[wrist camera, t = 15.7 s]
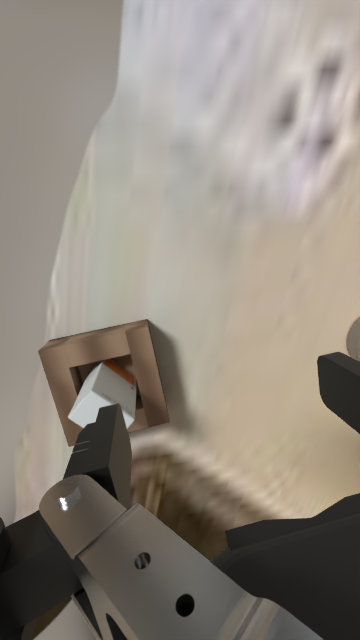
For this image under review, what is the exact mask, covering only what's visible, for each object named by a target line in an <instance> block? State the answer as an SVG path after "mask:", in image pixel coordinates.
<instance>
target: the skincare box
mask: <svg viewBox="0 0 360 640" xmlns="http://www.w3.org/2000/svg"><path fill="white" fill-rule="evenodd" d="M136 386H137V379H136V377H135V376H133V375H132V374H130V373H129V372H128V371H126V370H125V369H123V368H122V367H121V366H119V365H118V364H117V363H115V362H114V361H113V360H111V359H105V360H101V361H99V362H98V364H97V365H96V366H95V367H94V368H93V369H92V371H91V372H90V373H89V374H88V375H87V377H86V380H85V382H84V384H83V386H82V388H81V390H80V393H79V395H78V397H77V399H76V401H75V403H74V405H73V407H72V409H71V412H70V413H69V415H68V418H69V419H70V420H71V421H73V422H74V423H76V424H78V425H79V426H81V427H82V428H84V427H85V426H86V425H87V424H90V423H94V422H96V418H97V414H98V411H99V408H100V407H105V406H109V405H113V404H117V403H119V404H120V406H121V409H122V412H123V416H124V420H125V424H126V427H127V429H128V428H129V426H130V425H131V424H132V423H133V422H134V420H135V407H136Z"/></svg>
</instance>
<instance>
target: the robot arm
mask: <svg viewBox="0 0 360 640" xmlns="http://www.w3.org/2000/svg"><path fill="white" fill-rule="evenodd" d="M347 350H348V352H349V355H350V356H351V357H352V358H351V357H349V356H347V355H345V354H343V353H341V352H335V353H330V354H326V355H322V356H319V357H318V360H317V365H318V377H319V388H320V395H321V398H322V400H323V402H324V404H325V405H326V407H327V408H329V409H330V410H331V411H332V412H334V413H335V414H336V415H337V416H338V417H340V418H341V419H342V420H343V421H345V422H346V423H347V424H348V425H349V426H351V427H352V428H353V429H354V430H356V431H357V432H358V433H359V434H360V318H358V319H357V320H356V321H355V322H354V324H353V325H352V327H351V328H350V331H349V333H348V337H347ZM72 452H73V453H72V454H71V457H70V460H69V463H68V466H67V469H66V472H65V474H64V477H63V480H61V481H59V482H58V483H56V484H55V485H54V486H52V487H51V488H50V489H49V490H48V491H47V492H46V493H45V495H44V496H43V498H42V499H41V502H40V504H39V510H38V511H36V512H35V513H33V514H31V515H29V516H27V517H25V518H23V519H21V520H19V521H17V522H15V523H13V524H11V525H9V526H7V527H5V525H4V522H3V520H2V518H0V640H32V636H33V632H34V627H35V623H36V619H37V617H38V616H40V615H42V614H43V613H45V612H46V611H48V610H49V609H51V608H53V607H54V606H56V605H57V604H59V603H60V602H62V601H64V600H65V599H67V598H68V597H70V596H71V597H72V599H73V601H74V602H75V604H76V606H77V607H78V609H79V611H80V612H81V614H82V616H83V617H84V619H85V621H86V622H87V624H88V626H89V627H90V629H91V631H92V632H93V634H94V636H95V637H96V639H97V640H360V493H359V494H355V495H351V496H348V497H345V498H343V499H342V500H340V501H338V502H337V503H335V504H334V505H332V506H330V507H329V508H327V509H326V510H324V511H323V512H321V513H319V514H318V515H316V516H314V517H312V518H303V519H274V520H262V521H259V522H255V523H252V524H248V525H245V526H241V527H238V528H234V529H230V530H227V531H225V534H226V539H227V544H228V547H227V548H225V549H224V550H222V551H221V552H219V553H218V554H217V555H216V556H215V557H213V558H212V559H211V560H210V561H208V560H207V559H206V558H205V557H204V556H202V555H201V554H200V553H199V552H197V551H196V550H195V549H194V548H193V547H191V546H190V545H189V544H188V543H186V542H185V541H184V540H183V539H182V538H180V537H179V536H178V535H177V534H175V533H174V532H173V531H172V530H171V529H169V528H168V527H167V526H166V525H164V524H163V523H162V522H161V521H160V520H158V519H157V518H156V517H155V516H154V515H152V514H151V513H150V512H149V511H147V510H146V509H145V508H144V507H142V506H141V505H140V504H137V503H134V504H133V505H132V506H131V507H130V484H131V462H132V451H131V444H130V439H129V435H128V431H127V427H126V424H125V420H124V416H123V412H122V409H121V406H120V404H119V403H117V404H113V405H109V406H105V407H100V408H99V411H98V414H97V418H96V422H94V423H90V424H87V425H86V426H85V427H84V428H83V429H82V431H81V432H80V433H79V434H78V437H77V440H76V443H75V446H74V449H73V451H72Z"/></svg>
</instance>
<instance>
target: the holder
mask: <svg viewBox="0 0 360 640" xmlns="http://www.w3.org/2000/svg"><path fill="white" fill-rule="evenodd" d="M38 352H39V355H40V358H41V361H42V365H43V368H44V371H45V374H46V377H47V380H48V383H49V386H50V390H51V393H52V396H53V399H54V402H55V405H56V408H57V411H58V414H59V418H60V421H61V424H62V427H63V430H64V433H65V436H66V439H67V443H68V446H69V447H70V446H74V445H75V443H76V440H77V437H78V434H79V433H80V432H81V431H82V429H83V428H82V427H81V426H79V425H78V424H76V423H74V422H73V421H71V420H70V419H69V418H68V415H69V413H70V412H71V409H72V407H73V405H74V403H75V401H76V399H77V397H78V395H79V393H80V390H81V388H82V386H83V384H84V382H85V380H86V377H87V375H88V374H89V373H90V372H91V371H92V369H93V368H94V367H95V366H96V365H97V364H98V362H99V361H101V360H105V359H111V360H113V361H114V362H115V363H117V364H118V365H119V366H121V367H122V368H123V369H125V370H126V371H128V372H129V373H130V374H132V375H133V376H135V377H136V379H137V386H136V407H135V420H134V422H133V423H132V424H131V425H130V426H129V428H128V429H127V431H128V432H131V431H135V430H139V429H143V428H147V427H152V426H156V425H160V424H164V423H168V422H169V417H168V411H167V405H166V401H165V396H164V392H163V387H162V383H161V378H160V374H159V369H158V365H157V360H156V356H155V351H154V347H153V342H152V338H151V333H150V329H149V324H148V320H147V319H146V320H141V321H136V322H132V323H127V324H122V325H118V326H113V327H108V328H104V329H99V330H94V331H90V332H85V333H80V334H76V335H71V336H66V337H62V338H57V339H52V340H49V341H48V342H47V343H46V344H45V345H44V346H43V347H42V348H41V349H40V350H39V351H38Z"/></svg>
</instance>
